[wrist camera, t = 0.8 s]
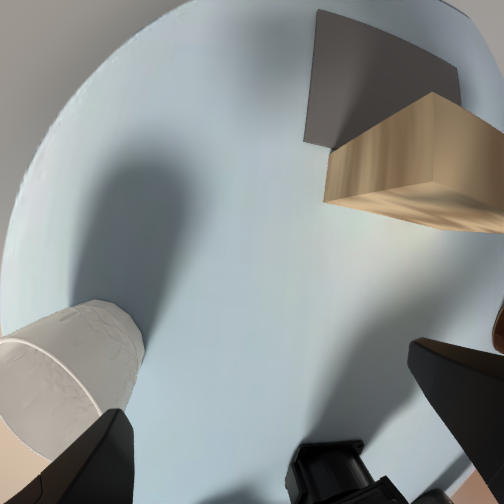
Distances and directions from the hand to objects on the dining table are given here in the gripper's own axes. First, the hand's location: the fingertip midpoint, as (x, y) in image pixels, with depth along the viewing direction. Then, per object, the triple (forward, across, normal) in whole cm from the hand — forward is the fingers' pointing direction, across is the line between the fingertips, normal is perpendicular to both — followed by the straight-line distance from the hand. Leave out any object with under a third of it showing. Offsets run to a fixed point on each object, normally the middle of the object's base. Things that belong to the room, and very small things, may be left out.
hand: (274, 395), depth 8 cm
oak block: (+13, -13, -3) cm, 18 cm away
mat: (+14, -16, -11) cm, 24 cm away
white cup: (+13, +11, +4) cm, 17 cm away
